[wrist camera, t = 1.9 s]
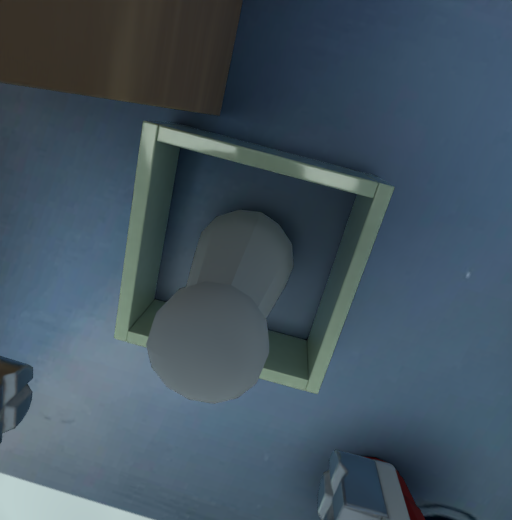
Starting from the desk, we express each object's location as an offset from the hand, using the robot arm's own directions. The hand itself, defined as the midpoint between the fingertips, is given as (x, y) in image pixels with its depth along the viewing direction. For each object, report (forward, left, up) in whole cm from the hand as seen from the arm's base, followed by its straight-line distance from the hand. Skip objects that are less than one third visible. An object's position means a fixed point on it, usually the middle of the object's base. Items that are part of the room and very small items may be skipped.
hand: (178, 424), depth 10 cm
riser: (-15, +7, -16) cm, 23 cm away
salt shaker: (0, 0, -16) cm, 16 cm away
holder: (0, 0, -16) cm, 16 cm away
